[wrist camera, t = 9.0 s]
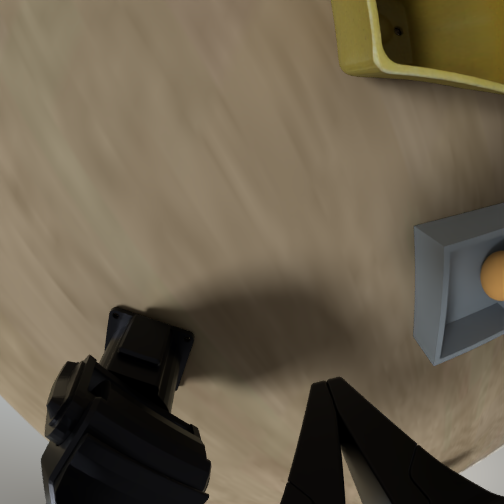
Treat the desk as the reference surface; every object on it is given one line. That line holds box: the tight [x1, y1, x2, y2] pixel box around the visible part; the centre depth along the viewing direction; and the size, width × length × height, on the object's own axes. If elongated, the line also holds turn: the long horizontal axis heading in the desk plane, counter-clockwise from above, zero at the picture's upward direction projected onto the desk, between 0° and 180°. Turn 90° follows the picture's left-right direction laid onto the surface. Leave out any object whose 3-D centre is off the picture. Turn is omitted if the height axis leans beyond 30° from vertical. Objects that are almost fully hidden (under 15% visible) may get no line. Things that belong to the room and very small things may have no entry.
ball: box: [480, 251, 504, 301], centre depth 20 cm, size 4×4×4 cm
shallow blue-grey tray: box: [413, 203, 504, 366], centre depth 20 cm, size 10×10×4 cm
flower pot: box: [331, 0, 504, 95], centre depth 11 cm, size 9×9×9 cm
